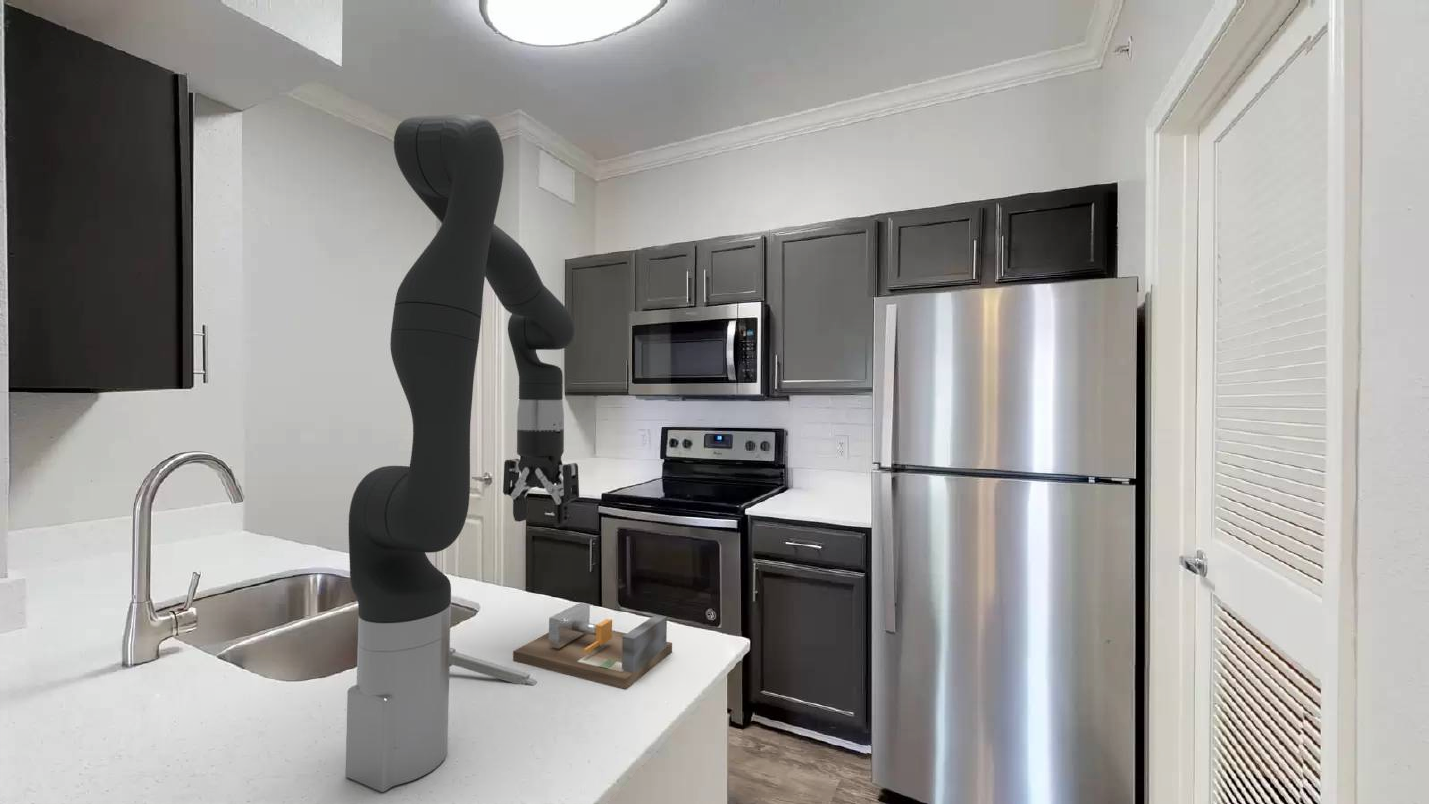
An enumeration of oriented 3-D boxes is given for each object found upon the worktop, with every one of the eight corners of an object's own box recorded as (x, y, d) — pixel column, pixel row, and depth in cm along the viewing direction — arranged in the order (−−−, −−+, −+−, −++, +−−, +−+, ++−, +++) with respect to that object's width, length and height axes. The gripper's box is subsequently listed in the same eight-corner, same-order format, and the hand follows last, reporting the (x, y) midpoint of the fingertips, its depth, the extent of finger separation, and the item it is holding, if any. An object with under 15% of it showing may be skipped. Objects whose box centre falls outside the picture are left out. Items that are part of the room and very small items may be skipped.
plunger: (584, 654, 88) (585, 625, 88) (548, 646, 91) (549, 617, 91) (613, 636, 96) (614, 609, 96) (579, 628, 99) (580, 602, 99)
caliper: (406, 675, 86) (406, 633, 86) (410, 671, 87) (411, 630, 87) (533, 687, 82) (534, 643, 83) (537, 683, 84) (538, 640, 84)
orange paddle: (587, 654, 87) (587, 634, 87) (582, 652, 87) (582, 632, 87) (611, 638, 93) (612, 619, 93) (606, 637, 93) (607, 618, 93)
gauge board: (625, 689, 82) (626, 643, 82) (513, 660, 90) (513, 619, 90) (671, 651, 95) (672, 612, 95) (569, 629, 103) (570, 593, 103)
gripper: (491, 426, 95) (491, 523, 95) (559, 429, 89) (559, 533, 89) (524, 424, 102) (523, 515, 102) (589, 427, 96) (588, 523, 96)
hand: (540, 523), depth 96 cm, fingers open, 8 cm apart
